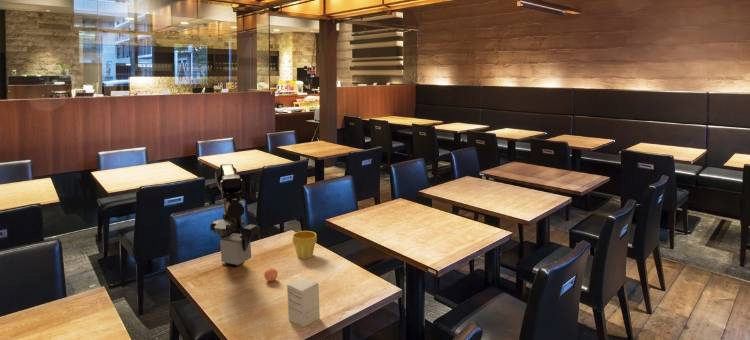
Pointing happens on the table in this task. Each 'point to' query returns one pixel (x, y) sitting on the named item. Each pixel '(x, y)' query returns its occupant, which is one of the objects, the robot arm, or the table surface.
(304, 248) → the plant pot
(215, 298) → the table surface
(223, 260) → the grey cube
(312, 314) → the supplement box
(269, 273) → the ball
